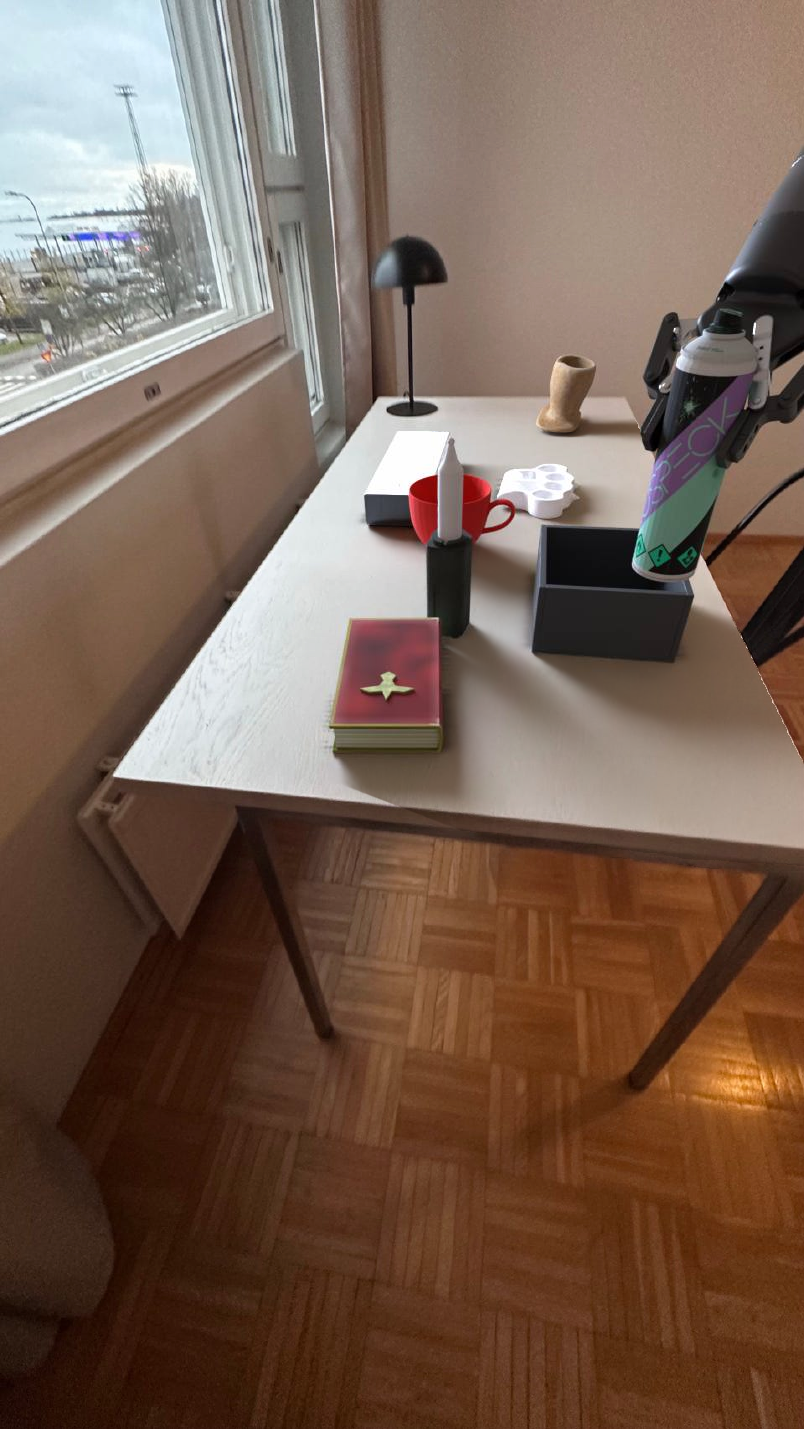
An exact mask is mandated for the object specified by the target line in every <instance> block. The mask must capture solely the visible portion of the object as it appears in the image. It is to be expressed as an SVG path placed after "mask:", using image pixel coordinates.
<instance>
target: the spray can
mask: <svg viewBox="0 0 804 1429" xmlns="http://www.w3.org/2000/svg"><path fill="white" fill-rule="evenodd" d="M741 319H742V313H741V311H739V310H737V309H733V308H720V309H718V310H717V313H716V315H715V318H714V323H712V324H711V325H710V327H709V328H707V329H704V330H703V335H702V336H700V337H698V336H697V337H696V338H695V339H694V340H692V341H690V342H688V343H687V344H685V345H683V346H682V347H681V352H679V353H680V356H678V357H677V359H676V364H675V368H674V370H675V372H674V376H673V381H672V385H671V390H670V394H669V399H668V403H667V408H666V412H665V417H664V421H663V426H662V430H661V435H660V439H659V444H658V448H657V450H656V453H655V458H654V463H653V467H652V472H651V476H650V480H649V485H648V489H647V493H646V498H645V502H644V507H643V512H642V517H641V521H640V526H639V528H640V530H639V534H638V539H637V543H636V548H635V552H634V557H633V562H632V566H633V569H634V570H635V571H636V572H637V573H638V574H640V575H641V576H643V577H645V578H648V579H651V580H655V581H660V582H680V581H684V580H687V579H689V580H690V579H691V578H692V577H693V576H694V575H695V573H696V570H697V568H698V564H699V561H700V558H701V556H702V551H703V548H704V545H705V541H706V538H707V534H708V531H709V528H710V525H711V521H712V517H713V514H714V511H715V507H716V504H717V501H718V497H719V494H720V490H721V488H722V484H723V481H724V477H725V475H726V471H727V469H724V468H720V467H718V465H717V461H716V453H717V451H718V449H719V447H720V445H721V443H722V442H723V440H724V438H725V436H726V435H727V433H728V431H729V429H730V428H731V426H732V424H733V422H734V421H735V419H736V417H737V416H738V415H739V413H740V411H741V410H742V409H745V407H746V403H747V401H748V394H749V390H750V387H751V384H752V380H753V377H754V374H755V370H756V367H757V361H756V358H757V356H758V355H759V349H758V348H757V347H755V346H753V345H752V344H751V343H750V342H749V341H748V340H747V339H746V338H745V337H744V336H745V333H746V331H745V330H743V329H742V328H743V325H741V324H740V323H741Z"/></svg>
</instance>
